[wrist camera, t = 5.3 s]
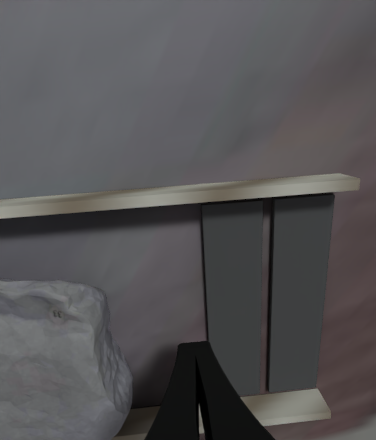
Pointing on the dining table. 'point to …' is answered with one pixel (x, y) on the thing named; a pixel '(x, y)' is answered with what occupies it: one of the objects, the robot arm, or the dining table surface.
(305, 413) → the grey cream flat frame
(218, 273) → the tiles
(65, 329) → the stone block
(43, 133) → the dining table surface
